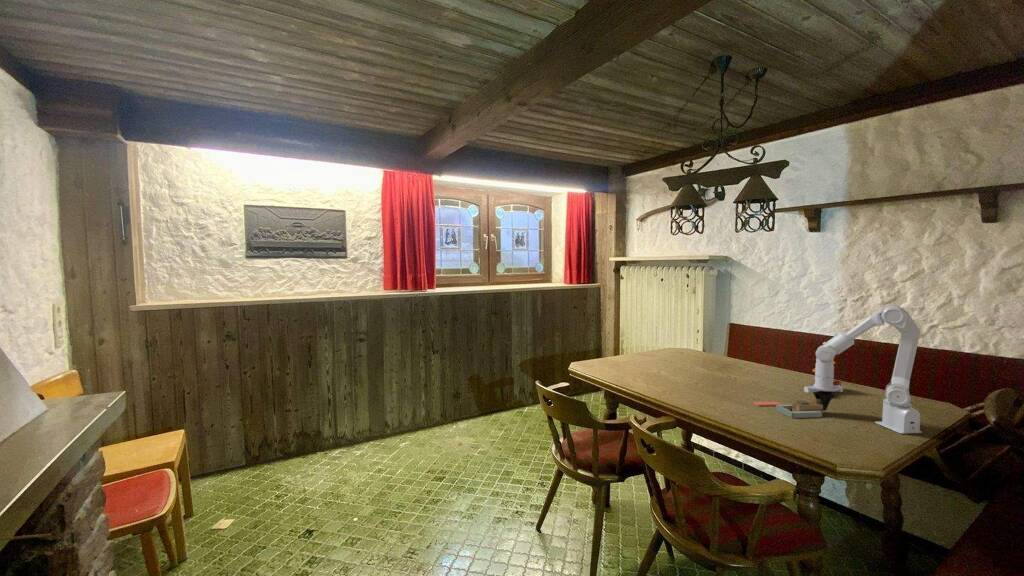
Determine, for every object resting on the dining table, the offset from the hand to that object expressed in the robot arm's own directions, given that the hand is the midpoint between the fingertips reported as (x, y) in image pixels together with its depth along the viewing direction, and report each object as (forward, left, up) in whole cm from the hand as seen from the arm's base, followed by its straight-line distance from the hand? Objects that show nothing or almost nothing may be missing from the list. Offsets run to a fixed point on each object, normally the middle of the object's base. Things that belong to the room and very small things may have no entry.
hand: (822, 409), depth 158 cm
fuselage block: (0, +6, -1) cm, 7 cm away
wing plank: (+10, +15, -2) cm, 18 cm away
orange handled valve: (+23, -20, -2) cm, 31 cm away
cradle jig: (0, +9, -1) cm, 9 cm away
